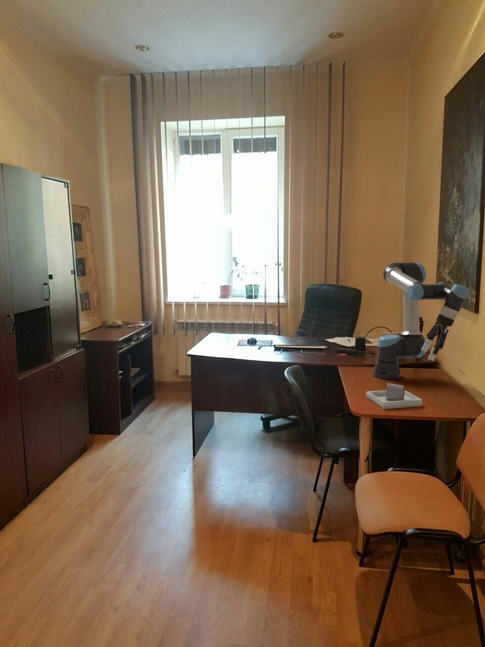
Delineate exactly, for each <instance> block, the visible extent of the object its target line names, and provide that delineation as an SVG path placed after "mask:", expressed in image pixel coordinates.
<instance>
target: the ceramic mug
mask: <svg viewBox="0 0 485 647" xmlns="http://www.w3.org/2000/svg"><path fill="white" fill-rule="evenodd" d="M405 389H406V388H405V386H404V385H400V384H394V383H389V382H388V383H387V385H386V389H385V390H386V399H388V400H398V401H402V400H404V394H405V391H406V390H405Z"/></svg>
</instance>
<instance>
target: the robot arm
mask: <svg viewBox="0 0 485 647" xmlns="http://www.w3.org/2000/svg"><path fill="white" fill-rule="evenodd" d="M426 272H427V271H426V269H425V267H424V265H423V264H422V263H420V262H398V261H397V262H392V263H390V264H388V265H386V266H385V268H384V269H383V272H382V277H383V279H384V281H385V282H386V283H388V284H389V285H392V286H393V285H395V286H396V287H398V288H399V289H401V290H402V315H403V316H402V317H403V318H402V320H403V324H402V325H403V329H402V330H403V331H402V332H401V333H400V335H399V334H391V333H390V334H384V335H380V336H379V338H378V340H377V352H376V353H377V354H376V362H375V365H374V368H373V370H372V375H373V377H376V378H379V379H383V380H397V379H400V378H401V370H400V369H401V368H400V366H399V359H403V358H404V359H409V358H412V359H416V358H422V357H424V355H425V354H426V353H427V352H428V351H429V348H430V346H431V345H432V343H433V341H434V338H436V340H435V345H433V348H432V349H431V351H430V354H429V355H428V358H427V360H428V361H429V360H430V361H432V362H434V361H435V359H436V357H437V355H438V354H439V352H440V350H443V348H444V345H445V342H446V339H447V335H448V333H449V331H450V330H449V329H448V327H450V328H451V327H452V326H453V324H454V322H455V319H457V317H458V315H459V314H460V310H461V309H462V307H463V306H464V303H465V302H466V300H467V298H468V296H469V293H470V289H469V288H467V287H465V286H463V285H460V284H457V283H454V284H453V285H451V284H449V283H447V282H443V281H441V282H437V283H436V284H435V283H434V284H433V283H432V284H431V283H428V284H425V283H424V282H425V281H426V278H427V273H426ZM421 300H423V301H425V300H427V301H428V300H433V301H434V300H438V301H439V300H440V301H441V300H442V301H445V302H444V304H443V305H442V307H441V309H440V311H439V314H438V315H437V317H436V319H435V320H436V321H435V323H434V325H433V326H432V327H431V329H430V330H429V331H428V332H427V334H426V337H424V336H423V333H422V332H421V331H420V301H421Z"/></svg>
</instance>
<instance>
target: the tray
mask: <svg viewBox="0 0 485 647" xmlns="http://www.w3.org/2000/svg"><path fill="white" fill-rule="evenodd" d="M386 390H387V389H385V390H371V391H370V390H368V391H366V392H365V398H366V399H367V400H369V401H371V403H373V404H375V405H376V406H378V407H380V408H381V409H383V410H387V409H389V410H390V409H397V408H398V409H399V408H412V407H414V408H415V407H422V406H423V399H422V398H420V397H417V396H416V395H415V394H412V393H411V392H409V391H407V390H405V394H404V400H402V401H398V400H388V399H386Z"/></svg>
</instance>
